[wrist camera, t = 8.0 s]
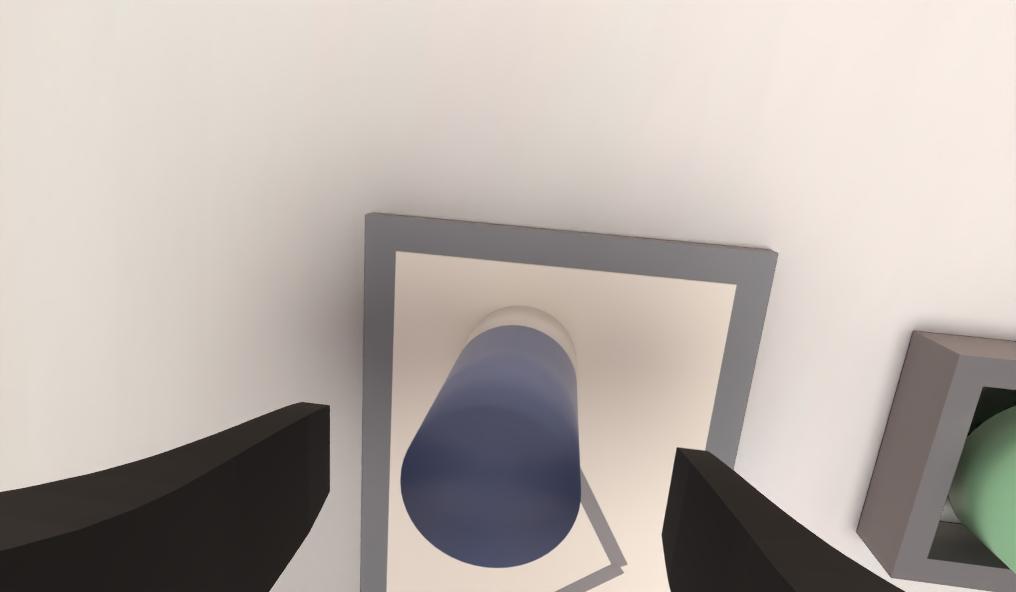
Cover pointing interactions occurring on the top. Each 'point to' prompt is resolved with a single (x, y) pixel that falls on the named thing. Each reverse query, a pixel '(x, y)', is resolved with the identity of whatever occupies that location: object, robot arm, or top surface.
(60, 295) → the top surface
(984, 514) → the button
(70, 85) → the top surface
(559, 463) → the marker
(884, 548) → the button housing
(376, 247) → the clipboard
